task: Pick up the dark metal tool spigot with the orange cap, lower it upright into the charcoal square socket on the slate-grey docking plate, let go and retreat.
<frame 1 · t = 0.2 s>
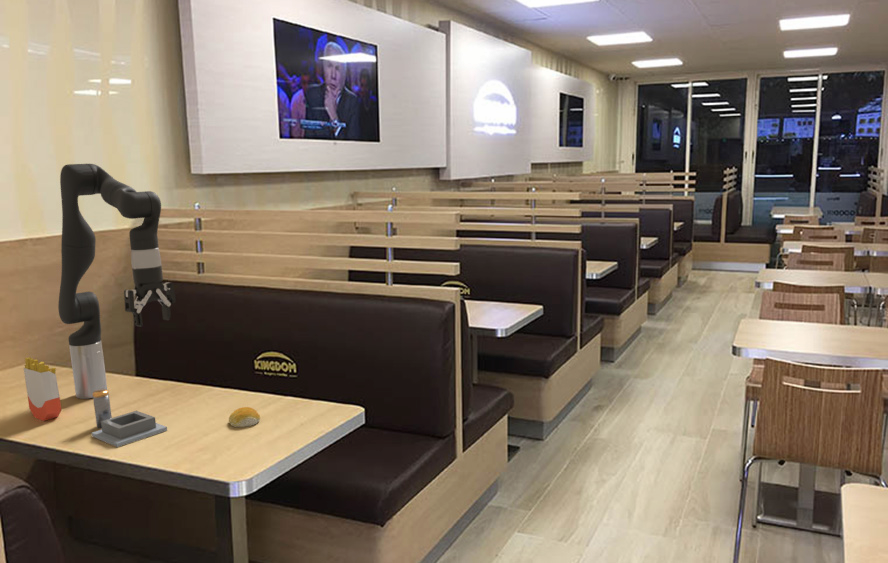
hand: (153, 322, 200), 28 cm above the table, fingers open, 8 cm apart
tool spigot: (104, 425, 202), on the table
french fries container: (47, 417, 212), on the table
socket: (129, 433, 196), on the table
bread roll: (245, 423, 201), on the table
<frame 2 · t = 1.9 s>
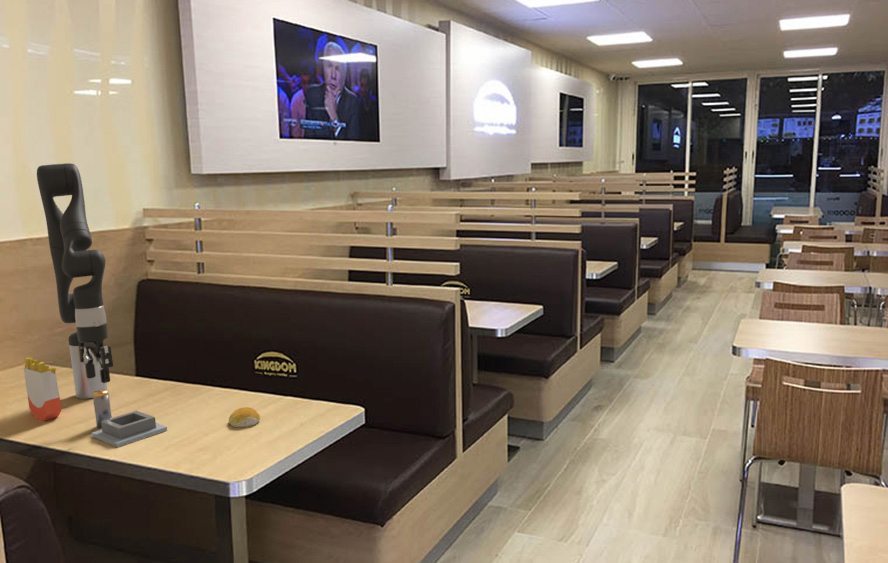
hand: (98, 380, 200), 13 cm above the table, fingers open, 8 cm apart
nothing on the table moved.
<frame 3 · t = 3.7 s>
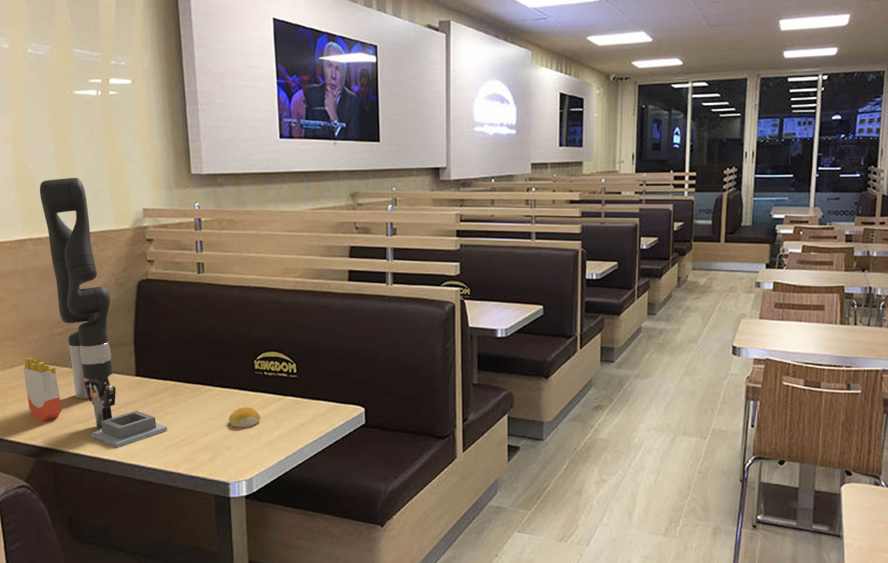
hand: (103, 418, 202), 2 cm above the table, fingers closed on tool spigot, 4 cm apart
tool spigot: (104, 425, 202), on the table, touching gripper
everything else where it was.
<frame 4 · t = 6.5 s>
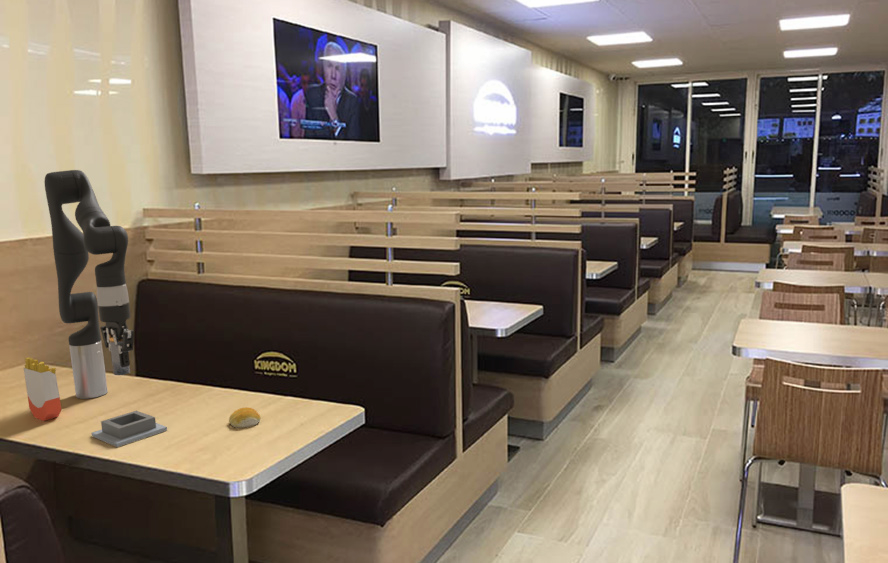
hand: (121, 364, 193), 19 cm above the table, fingers closed on tool spigot, 4 cm apart
tool spigot: (121, 373, 193), point 17 cm above the table, touching gripper
everything else where it was.
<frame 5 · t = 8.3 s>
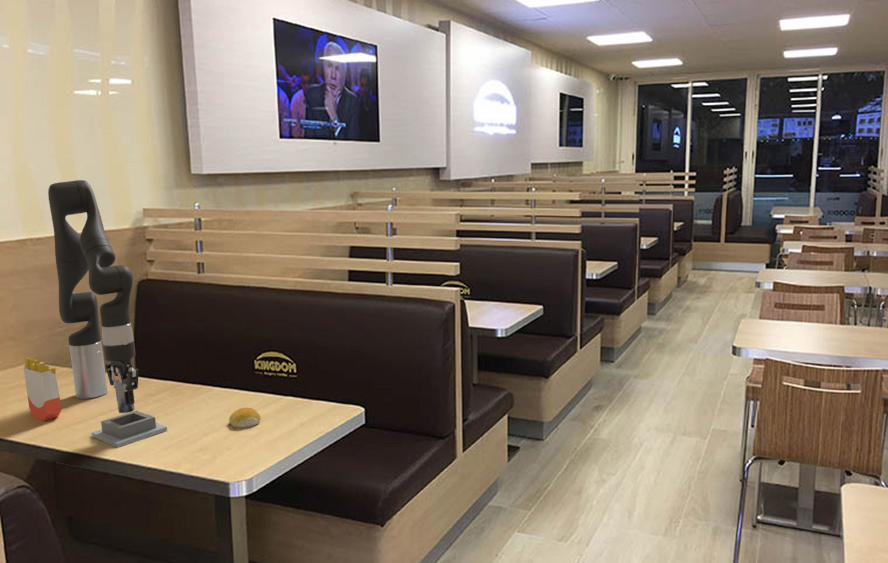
hand: (125, 402, 194), 9 cm above the table, fingers closed on tool spigot, 4 cm apart
tool spigot: (126, 410, 195), point 6 cm above the table, touching gripper
everything else where it was.
when the fingers open (5 cm above the table, at t = 9.5 s): tool spigot drops 1 cm, resting on socket.
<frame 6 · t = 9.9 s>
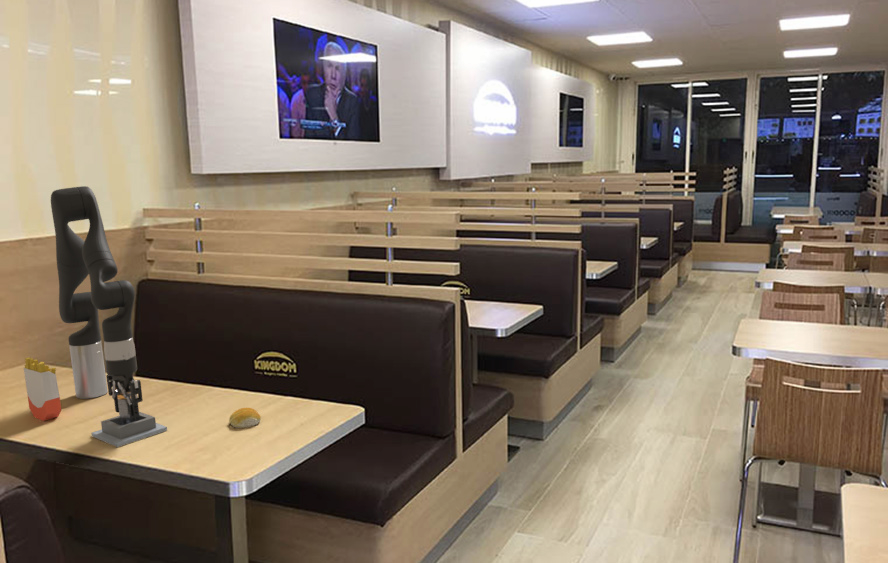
hand: (127, 414, 195), 5 cm above the table, fingers open, 7 cm apart
tool spigot: (129, 429, 196), point 1 cm above the table, touching socket
everything else where it was.
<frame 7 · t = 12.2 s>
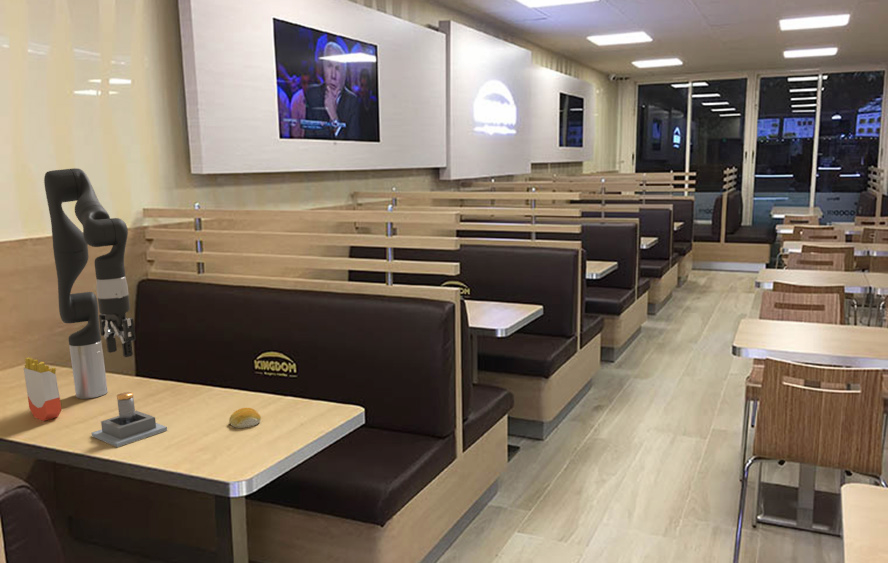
hand: (120, 354, 193), 22 cm above the table, fingers open, 8 cm apart
nothing on the table moved.
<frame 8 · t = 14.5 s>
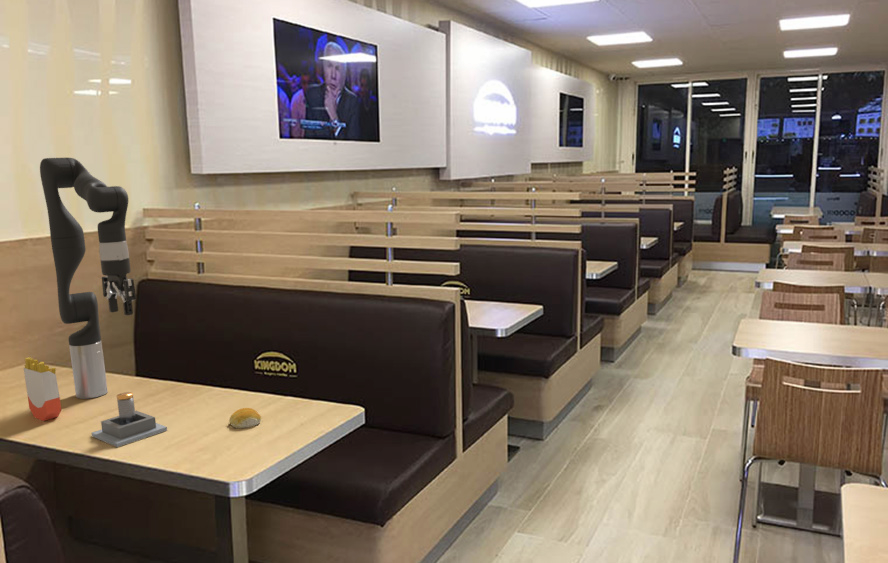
hand: (121, 313, 207), 30 cm above the table, fingers open, 8 cm apart
nothing on the table moved.
at the end: tool spigot 0.0 cm off-centre on the socket, point 1.0 cm above the socket's base; tool spigot tilted 0°; the gripper is holding nothing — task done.
